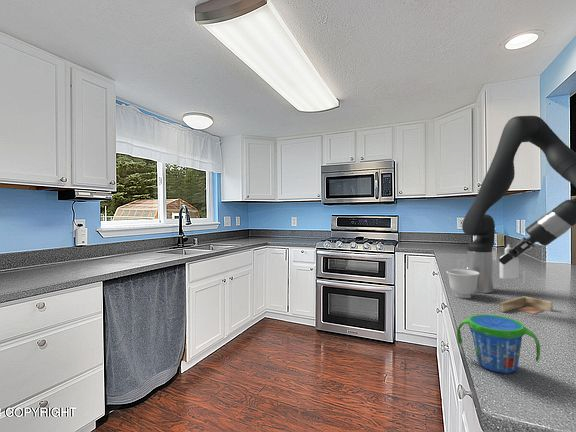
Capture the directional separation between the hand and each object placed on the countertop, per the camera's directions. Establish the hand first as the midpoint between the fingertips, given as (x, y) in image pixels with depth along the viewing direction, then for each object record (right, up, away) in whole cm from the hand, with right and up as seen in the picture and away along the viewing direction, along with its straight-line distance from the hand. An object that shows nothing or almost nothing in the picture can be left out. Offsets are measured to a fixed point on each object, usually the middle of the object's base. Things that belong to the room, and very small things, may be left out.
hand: (502, 261), depth 105 cm
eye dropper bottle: (+1, -6, -1) cm, 6 cm away
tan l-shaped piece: (+7, -17, -1) cm, 19 cm away
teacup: (-3, -17, +20) cm, 27 cm away
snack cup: (-27, -19, -37) cm, 49 cm away
